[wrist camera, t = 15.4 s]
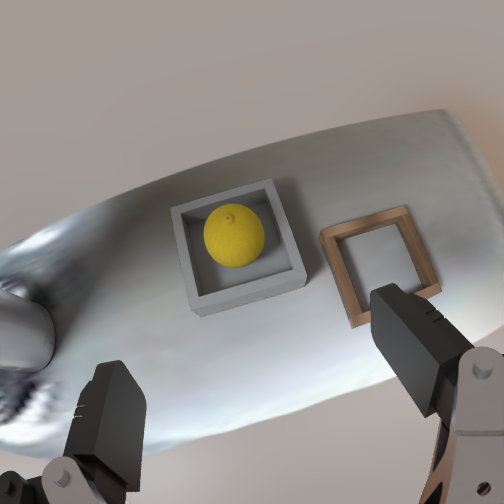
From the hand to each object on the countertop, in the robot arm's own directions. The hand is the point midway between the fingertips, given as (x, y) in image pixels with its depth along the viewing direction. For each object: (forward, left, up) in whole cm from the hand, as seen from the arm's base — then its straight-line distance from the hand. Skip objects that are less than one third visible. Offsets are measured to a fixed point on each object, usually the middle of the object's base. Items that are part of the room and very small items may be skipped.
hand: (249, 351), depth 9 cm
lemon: (0, +11, -21) cm, 24 cm away
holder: (0, +12, -22) cm, 25 cm away
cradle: (+14, +6, -22) cm, 27 cm away
